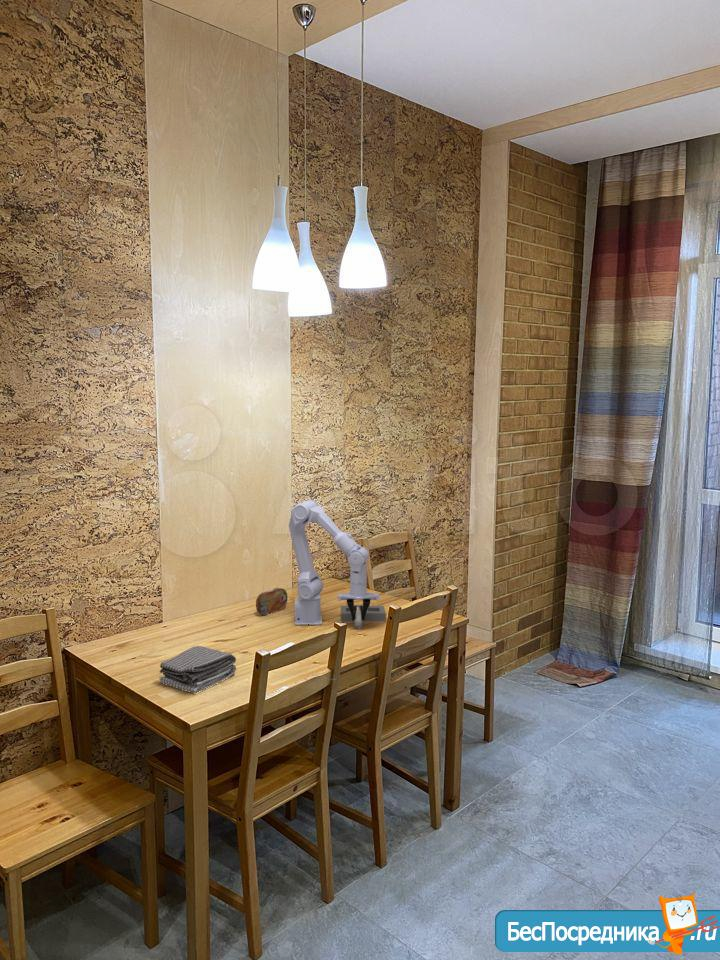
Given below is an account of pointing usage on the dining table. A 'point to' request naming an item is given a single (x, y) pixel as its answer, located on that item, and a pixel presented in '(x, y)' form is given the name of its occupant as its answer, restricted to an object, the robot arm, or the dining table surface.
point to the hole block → (372, 615)
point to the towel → (197, 668)
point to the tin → (271, 601)
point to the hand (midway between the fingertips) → (358, 619)
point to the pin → (358, 616)
